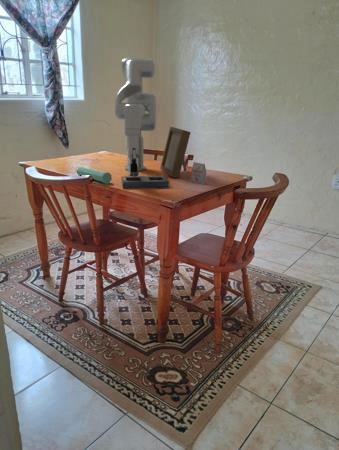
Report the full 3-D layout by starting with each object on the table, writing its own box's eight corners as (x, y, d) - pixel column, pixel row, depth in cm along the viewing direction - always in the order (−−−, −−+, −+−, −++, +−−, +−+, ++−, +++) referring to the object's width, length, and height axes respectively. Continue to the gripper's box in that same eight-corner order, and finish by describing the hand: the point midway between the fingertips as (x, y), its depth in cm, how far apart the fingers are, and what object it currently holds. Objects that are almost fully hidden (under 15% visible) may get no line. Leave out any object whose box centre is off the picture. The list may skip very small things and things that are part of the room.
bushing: (127, 174, 173) (127, 157, 170) (138, 174, 174) (138, 157, 171) (128, 176, 168) (128, 159, 166) (139, 176, 169) (139, 159, 166)
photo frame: (171, 178, 190) (172, 130, 181) (160, 170, 209) (160, 126, 200) (197, 176, 194) (199, 130, 185) (183, 169, 213) (185, 126, 205)
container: (73, 174, 188) (100, 182, 171) (76, 164, 187) (103, 170, 171) (82, 177, 192) (110, 185, 176) (85, 167, 192) (113, 173, 175)
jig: (121, 182, 177) (121, 176, 176) (164, 181, 181) (164, 175, 180) (122, 188, 166) (122, 181, 165) (168, 187, 170) (169, 180, 169)
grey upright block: (195, 180, 185) (196, 161, 181) (205, 183, 181) (206, 163, 177) (190, 182, 182) (191, 162, 179) (201, 184, 178) (202, 164, 175)
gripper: (123, 130, 171) (124, 167, 178) (126, 134, 156) (126, 174, 162) (139, 130, 173) (139, 167, 179) (143, 134, 157) (143, 174, 163)
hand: (133, 170), depth 170 cm, fingers closed on bushing, 5 cm apart
